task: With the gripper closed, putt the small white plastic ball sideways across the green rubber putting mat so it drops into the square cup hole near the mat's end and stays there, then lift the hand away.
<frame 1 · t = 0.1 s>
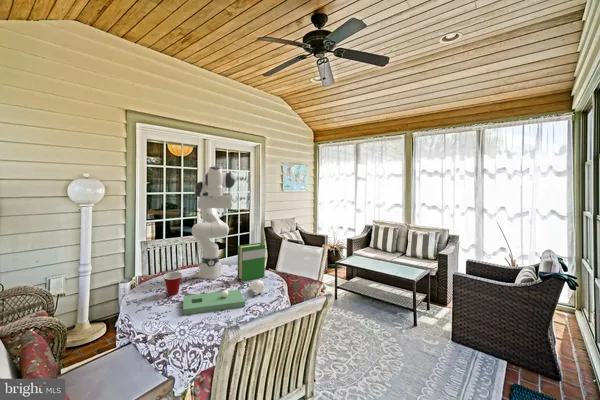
hand: (215, 215, 178), 48 cm above the table, tool pointing down, fingers open, 8 cm apart
ball: (224, 293, 165), point 5 cm above the table, touching green
green: (213, 303, 163), on the table
plastic cup: (172, 294, 175), on the table
hardback book: (251, 278, 207), on the table
penguin figurine: (255, 292, 181), on the table
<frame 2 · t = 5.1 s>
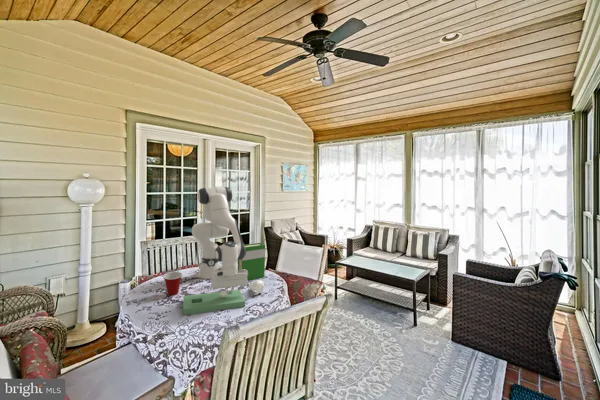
hand: (229, 293, 166), 5 cm above the table, tool pointing down, fingers closed
ball: (223, 294, 165), point 5 cm above the table, tilted 20°, touching green
everything else where it was.
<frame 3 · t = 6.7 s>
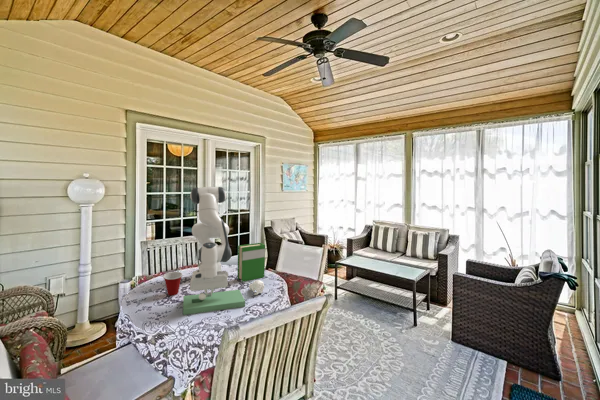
hand: (209, 296, 162), 5 cm above the table, tool pointing down, fingers closed
ball: (202, 296, 160), point 5 cm above the table, tilted 14°, touching green
everything else where it was.
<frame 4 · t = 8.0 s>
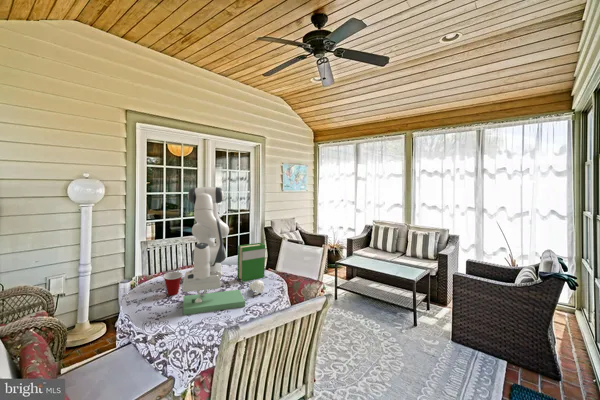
hand: (201, 297, 160), 5 cm above the table, tool pointing down, fingers closed
ball: (198, 302, 160), point 2 cm above the table, tilted 69°, touching green
everything else where it was.
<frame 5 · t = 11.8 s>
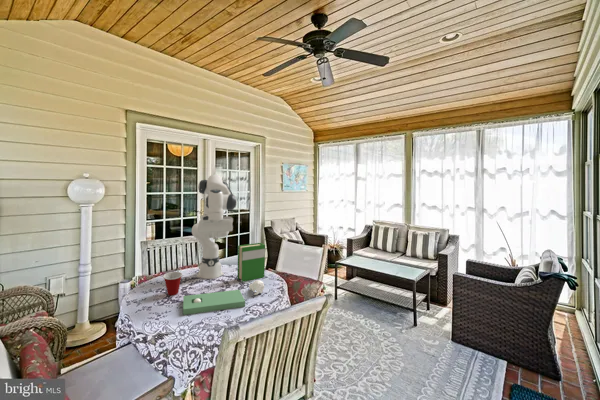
hand: (215, 239, 175), 34 cm above the table, tool pointing down, fingers closed
ball: (197, 302, 160), point 2 cm above the table, tilted 83°, touching green
everything else where it was.
at the end: ball 0.3 cm from the target spot on the green, point 2.2 cm above the green's base; ball point 2.2 cm above the table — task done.
